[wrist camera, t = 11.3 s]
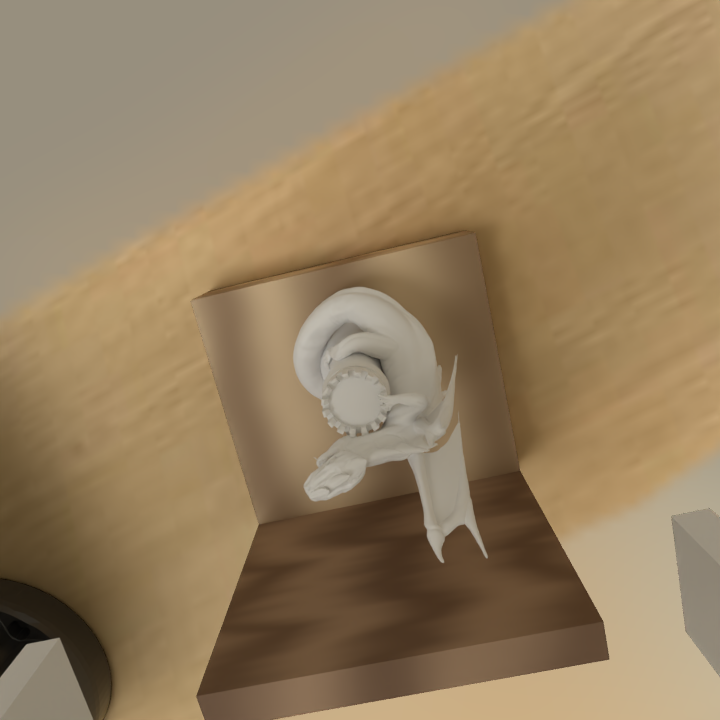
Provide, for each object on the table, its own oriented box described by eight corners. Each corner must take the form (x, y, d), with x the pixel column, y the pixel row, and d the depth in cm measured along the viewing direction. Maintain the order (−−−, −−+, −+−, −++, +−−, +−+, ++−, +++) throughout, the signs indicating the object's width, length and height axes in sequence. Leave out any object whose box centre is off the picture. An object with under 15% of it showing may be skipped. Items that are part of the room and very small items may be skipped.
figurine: (268, 335, 32) (207, 409, 20) (390, 250, 31) (399, 277, 19) (384, 491, 34) (389, 639, 22) (502, 417, 33) (574, 534, 21)
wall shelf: (275, 518, 38) (208, 730, 23) (208, 291, 35) (74, 359, 19) (511, 470, 37) (609, 659, 22) (465, 230, 34) (542, 249, 18)
